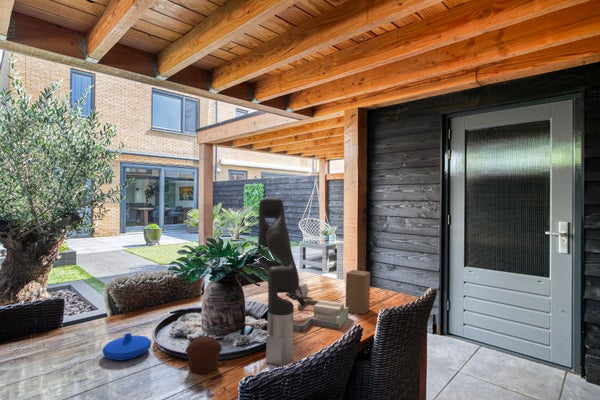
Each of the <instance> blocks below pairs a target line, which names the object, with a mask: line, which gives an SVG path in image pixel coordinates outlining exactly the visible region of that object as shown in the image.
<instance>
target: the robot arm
mask: <svg viewBox="0 0 600 400" xmlns="http://www.w3.org/2000/svg"><path fill="white" fill-rule="evenodd" d="M284 206H285V205H284V202H283V200H282V199H281V198H277V197H264V198H263V197H262V198H260V200H259V203H258V229H259V232H258V239H257V245H259V244H261V245H263V246H265V247H268V248H269V250H270V252H271V253H272V255H273V256H274V258H277V259H278V260H279V261H280V263H277V262H272V261H269V260H267V259H266V258H264V257H262V258H260V259H259V260H256V261H257V262H258V263H259V264H261V265H263V267H265V268H266V269H267V270H268V272H267V290H268V291H267V292H268V293H267V294H268V297H267V300H268V301H267V329H266V330H267V335H266V346H265V347H266V353H265V363H267V364H272V365H275V366H279V367H283V366H285V365H287V364H289V363H291V362H292V361H293V349H294V348H293V345H294V343H293V342H294V341H293V340H294V330H293V320H294V311H295V310H294V303H293V302H292V301H291V300H293V301H297V302H298V304H301V306H304V305H305V304H306V302H305V301H304V300H305V298H302V295H303V294H302V291H301V288H300V286H299V283H300V278H299V274H298V273H299V272H298V269H297V265H296V262H295V260H294V256H293V251H292V247H291V240H290V235H289V232H288V227H287V223H286V216H285V207H284ZM266 219H275V221H274V222H272V223H271V225H269V222H268V221H267V220H266ZM281 293H282V294H283V293H285V296H286V297H288V298H290V299H291V300H288V299H285V298H283V297H281V296H280V295H278V294H281Z"/></svg>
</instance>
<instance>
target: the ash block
mask: <svg viewBox="0 0 600 400" xmlns="http://www.w3.org/2000/svg"><path fill="white" fill-rule="evenodd" d="M318 301H319V302H318V303H317V304H315V305H314V311H313V318H315V319H321V320H327V321H332V322H336V317H337V316H338V315H339V314H340V313H341V312H342V311H343V310H344V308H345V303H344V302H337V301H331V300H325V299H324V300H323V299H320V300H318Z"/></svg>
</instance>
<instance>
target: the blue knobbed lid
mask: <svg viewBox="0 0 600 400" xmlns="http://www.w3.org/2000/svg"><path fill="white" fill-rule="evenodd" d="M151 345H152V341H151V339H150V338H149V337H147V336H144V335H132V333H126V334H124V335H123V337H118V338H115V339H113V340H111V341H109V342H108V343H106V344H105V346H104V347H103V348H102V354H103V356H104V357H105V358H107V359H111V360H115V361H116V360H118V361H119V360H120V361H122V360H123V361H124V360H129V359H130V360H131V359H133V358H136V357H139V356H141V355H143V354H145V353H146V352H148V351H149V349H150V348H151Z"/></svg>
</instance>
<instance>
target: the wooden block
mask: <svg viewBox="0 0 600 400" xmlns="http://www.w3.org/2000/svg"><path fill="white" fill-rule="evenodd" d="M345 275H346V276H345V278H346V279H345V304H344V308H345V307H348V313H350V312H351V314H355V313H357V315H361V314H364V315H365V314H366V313H367V312H368V311H369V310H370V298H371V297H370V295H371V294H370V293H371V272H370V271H367V270H366V271H364V270H359V269H358V270H356V269H352V270H349V271H348V272H346V274H345Z"/></svg>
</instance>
